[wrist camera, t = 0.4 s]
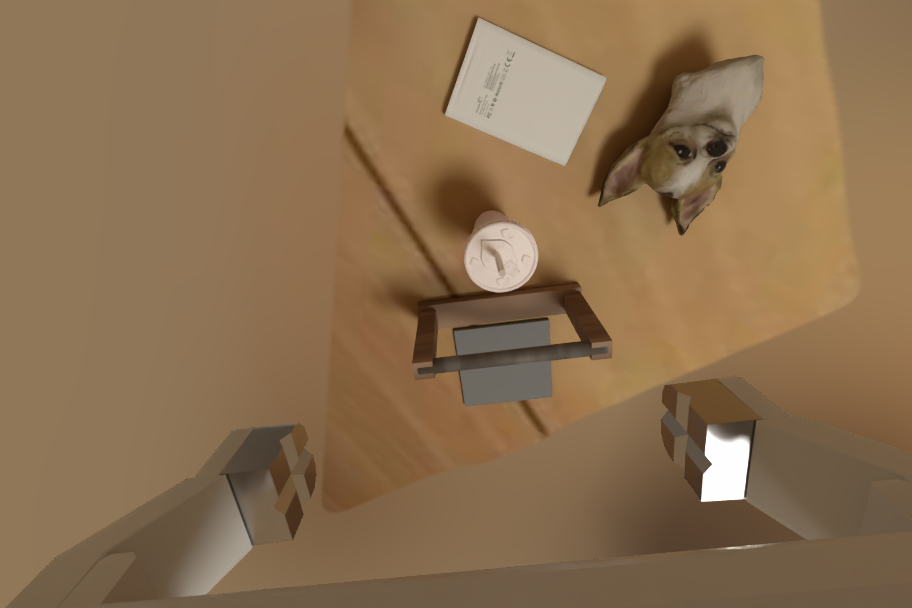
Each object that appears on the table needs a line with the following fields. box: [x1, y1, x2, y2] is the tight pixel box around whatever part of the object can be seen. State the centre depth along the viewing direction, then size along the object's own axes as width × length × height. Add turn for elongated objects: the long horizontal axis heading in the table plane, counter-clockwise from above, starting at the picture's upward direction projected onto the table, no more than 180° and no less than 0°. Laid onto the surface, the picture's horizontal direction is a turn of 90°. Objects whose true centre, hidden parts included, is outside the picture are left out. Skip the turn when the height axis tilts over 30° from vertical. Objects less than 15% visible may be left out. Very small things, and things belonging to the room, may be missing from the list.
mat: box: [454, 318, 552, 406], centre depth 52 cm, size 11×11×1 cm
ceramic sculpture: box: [598, 55, 764, 236], centre depth 38 cm, size 11×9×15 cm
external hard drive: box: [445, 18, 607, 166], centre depth 40 cm, size 2×8×12 cm
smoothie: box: [463, 210, 538, 292], centre depth 39 cm, size 6×6×14 cm
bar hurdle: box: [412, 283, 612, 380], centre depth 44 cm, size 3×18×12 cm, turn 97°
